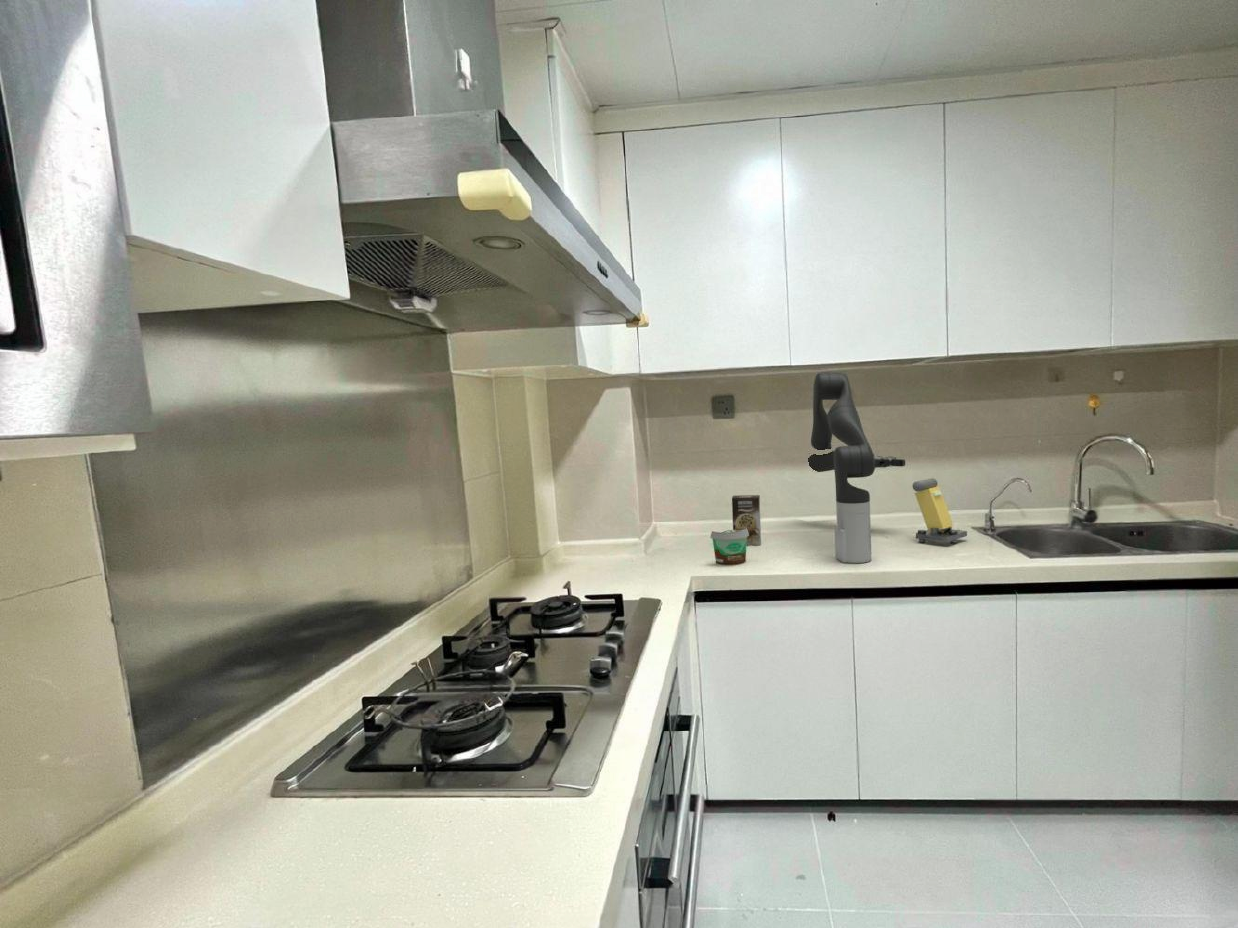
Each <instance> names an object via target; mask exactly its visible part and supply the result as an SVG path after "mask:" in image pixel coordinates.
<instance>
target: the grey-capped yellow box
mask: <svg viewBox="0 0 1238 928" xmlns="http://www.w3.org/2000/svg"><path fill="white" fill-rule="evenodd" d="M912 490H914V491H915V492H914V496H915V497H916V501H917V503H918V506H919V509H920V511H921V515H922V517H923V520H924V523H925V525H926V526H925V527H926V530H928V531H929V532H931V528H932V527H933V528H939V532H942V531H945V530H948V529H949V527H951V526H952V527H954V523H953V520H952V518H951V515H950V512H949V510H948V506H947V504H946V502H945V499H944V496H943V494H942V490H941V488H940V486H938V481H937V479H936V478H933V477H931V478H927V479H922V480H917V481H914V482H913V483H912Z"/></svg>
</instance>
